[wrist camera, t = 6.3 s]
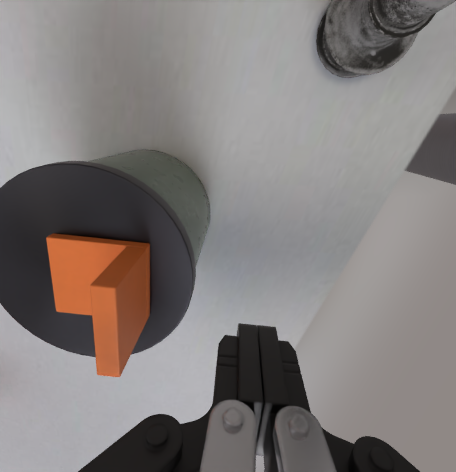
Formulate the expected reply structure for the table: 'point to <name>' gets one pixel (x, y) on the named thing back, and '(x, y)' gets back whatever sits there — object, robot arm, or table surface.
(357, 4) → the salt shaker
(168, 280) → the green lidded canister
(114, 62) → the table surface
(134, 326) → the lid slider
